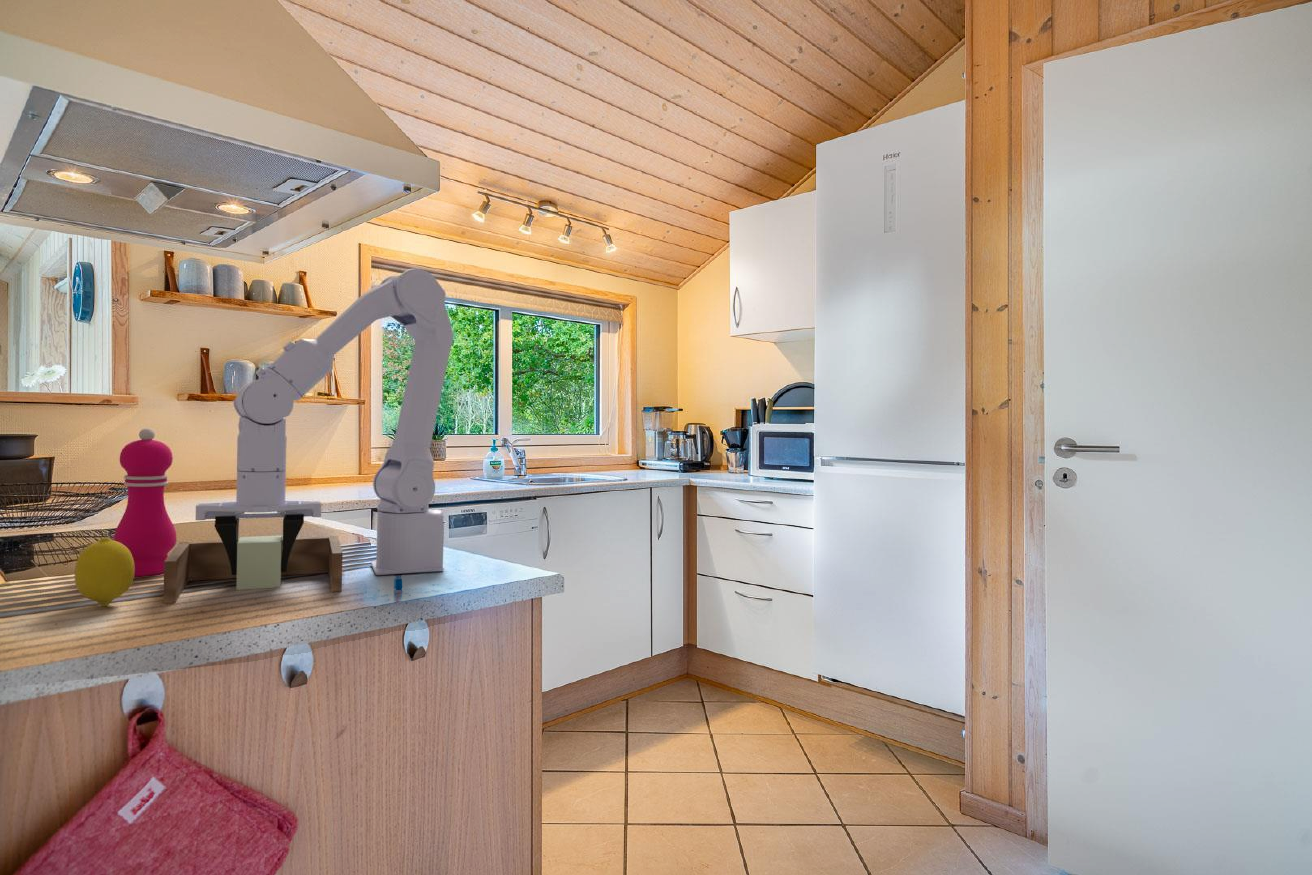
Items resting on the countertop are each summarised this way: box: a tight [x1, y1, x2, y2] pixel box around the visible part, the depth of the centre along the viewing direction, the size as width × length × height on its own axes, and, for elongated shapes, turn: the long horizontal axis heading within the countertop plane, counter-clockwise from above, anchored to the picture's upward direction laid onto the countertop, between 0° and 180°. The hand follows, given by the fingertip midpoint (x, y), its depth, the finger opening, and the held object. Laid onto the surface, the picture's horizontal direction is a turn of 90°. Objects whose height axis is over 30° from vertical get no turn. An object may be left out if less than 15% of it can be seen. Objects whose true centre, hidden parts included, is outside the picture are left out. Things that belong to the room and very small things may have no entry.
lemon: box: [74, 536, 135, 607], centre depth 83 cm, size 6×6×8 cm
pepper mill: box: [112, 427, 178, 577], centre depth 99 cm, size 7×7×20 cm
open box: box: [163, 535, 344, 604], centre depth 95 cm, size 19×13×5 cm, turn 117°
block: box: [235, 535, 283, 591], centre depth 95 cm, size 5×5×6 cm
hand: (259, 571), depth 95 cm, fingers closed on block, 5 cm apart
